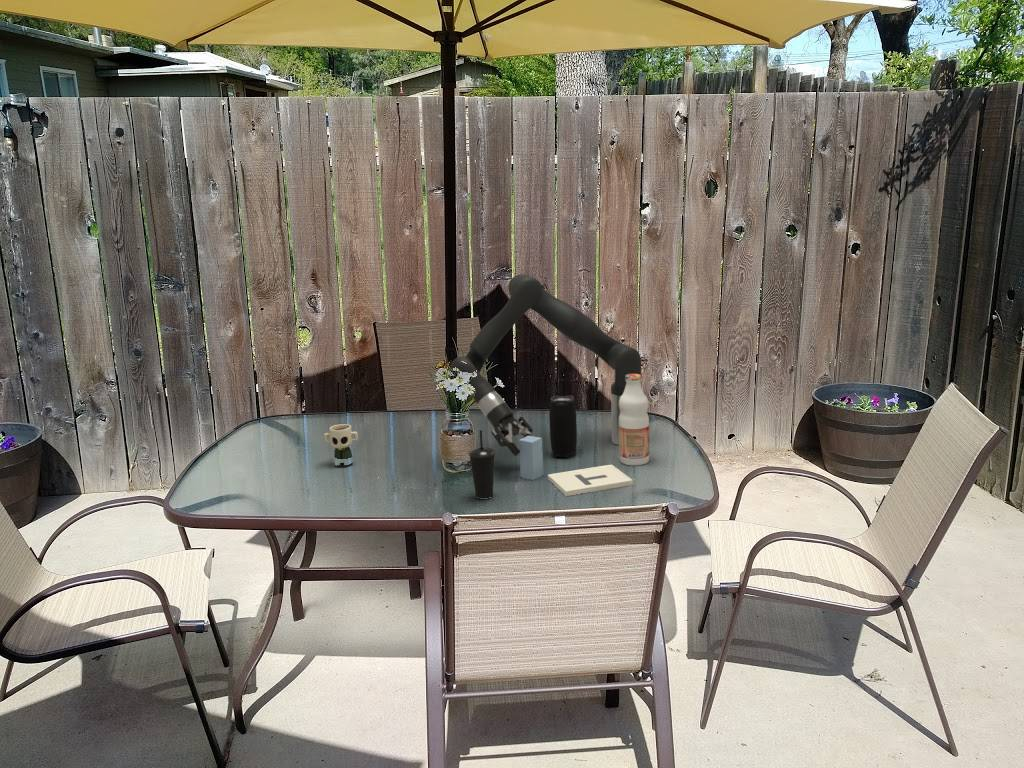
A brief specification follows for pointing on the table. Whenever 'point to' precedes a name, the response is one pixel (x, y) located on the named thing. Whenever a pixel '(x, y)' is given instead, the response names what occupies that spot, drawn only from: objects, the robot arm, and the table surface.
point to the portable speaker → (563, 426)
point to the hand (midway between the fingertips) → (526, 450)
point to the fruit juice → (633, 423)
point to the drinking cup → (482, 469)
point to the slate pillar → (531, 457)
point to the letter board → (589, 480)
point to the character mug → (341, 440)
